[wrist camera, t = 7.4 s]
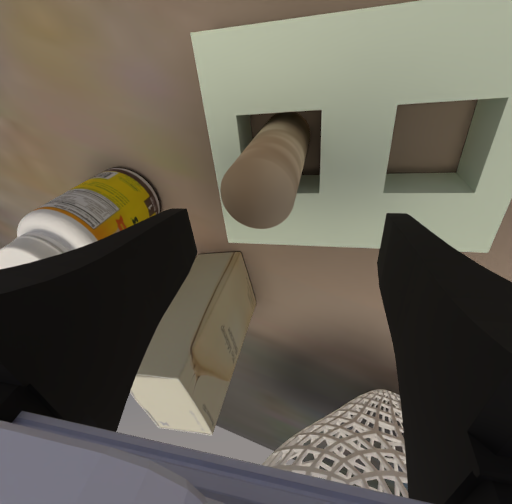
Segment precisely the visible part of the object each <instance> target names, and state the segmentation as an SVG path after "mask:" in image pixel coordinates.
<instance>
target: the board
mask: <svg viewBox="0 0 512 504" xmlns="http://www.w3.org/2000/svg"><path fill="white" fill-rule="evenodd" d="M190 34H191V39H192V45H193V50H194V56H195V61H196V67H197V72H198V78H199V83H200V89H201V94H202V100H203V105H204V111H205V117H206V122H207V128H208V133H209V139H210V144H211V150H212V155H213V161H214V166H215V172H216V177H217V183H218V188H219V194H220V199H221V193H220V187H221V182H222V179H223V177H224V174H225V173H226V172H227V170H228V169H229V168H230V167H231V165H232V164H233V163H234V162H235V160H236V159H237V158H238V157H239V156H240V154H241V153H242V152H243V151H244V150H245V148H246V147H247V146H248V145H249V144H250V142H251V141H252V130H251V120H250V115H251V114H266V113H281V112H296V111H311V110H322V120H321V155H320V175H301V178H300V182H299V186H298V190H297V194H296V198H295V202H294V206H293V209H292V211H291V213H290V215H289V216H288V217H287V218H286V219H285V220H284V221H283V222H282V223H280V224H279V225H277V226H274V227H271V228H267V229H255V228H250V227H247V226H245V225H243V224H241V223H239V222H238V221H236V220H235V219H234V218H233V217H232V216H231V215H230V214H229V213H228V212H227V210H226V209H225V207H224V205H223V202H222V199H221V205H222V210H223V216H224V222H225V227H226V233H227V238H228V243H252V244H278V245H303V246H329V247H354V248H380V246H381V240H382V235H383V230H384V224H385V219H386V213H407V214H409V215H410V216H412V217H413V218H414V219H416V220H417V221H418V222H420V223H421V224H422V225H423V226H425V227H426V228H427V229H429V230H430V231H431V232H433V233H434V234H435V235H436V236H438V237H439V238H441V239H442V240H443V241H445V242H446V243H447V244H449V245H450V246H452V247H453V248H455V249H456V250H457V251H459V252H483V253H488V252H489V249H490V247H491V245H492V242H493V240H494V238H495V235H496V233H497V231H498V229H499V226H500V224H501V222H502V219H503V217H504V215H505V212H506V210H507V208H508V206H509V203H510V201H511V199H512V0H421V1H414V2H407V3H400V4H393V5H385V6H378V7H371V8H364V9H357V10H350V11H343V12H336V13H328V14H321V15H314V16H307V17H300V18H293V19H286V20H278V21H271V22H264V23H257V24H250V25H243V26H236V27H229V28H221V29H214V30H207V31H200V32H193V33H190ZM476 99H478V101H477V105H476V108H475V111H474V115H473V118H472V121H471V125H470V128H469V131H468V135H467V138H466V141H465V145H464V148H463V151H462V155H461V158H460V161H459V165H458V168H457V171H456V173H400V174H386V172H387V166H388V160H389V154H390V147H391V141H392V135H393V129H394V123H395V116H396V110H397V105H401V104H416V103H431V102H446V101H461V100H476Z"/></svg>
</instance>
